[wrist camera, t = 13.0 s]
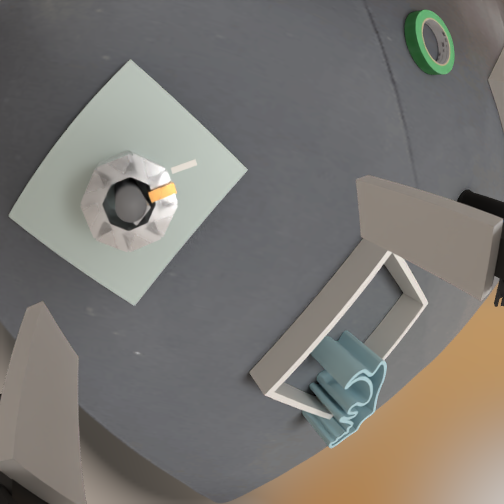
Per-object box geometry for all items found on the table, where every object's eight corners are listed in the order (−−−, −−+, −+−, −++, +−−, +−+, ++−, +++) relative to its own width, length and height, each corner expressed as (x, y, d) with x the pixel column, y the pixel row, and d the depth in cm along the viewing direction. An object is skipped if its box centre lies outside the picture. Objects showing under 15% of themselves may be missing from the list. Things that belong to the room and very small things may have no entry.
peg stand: (12, 212, 25) (-22, 243, 16) (129, 62, 25) (138, 33, 17) (133, 299, 33) (145, 352, 25) (242, 168, 33) (288, 181, 25)
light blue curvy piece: (344, 393, 57) (373, 423, 49) (300, 415, 54) (328, 450, 46) (351, 322, 50) (390, 353, 42) (299, 345, 46) (335, 384, 39)
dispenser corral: (248, 372, 44) (264, 395, 39) (368, 231, 44) (393, 242, 39) (314, 401, 53) (329, 419, 49) (408, 291, 53) (428, 303, 49)
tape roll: (402, 0, 33) (415, -2, 31) (442, 28, 38) (454, 27, 36) (402, 60, 37) (415, 59, 35) (441, 83, 42) (454, 83, 39)
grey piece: (105, 239, 28) (105, 266, 23) (78, 170, 25) (69, 180, 19) (173, 211, 30) (189, 230, 25) (150, 141, 27) (161, 142, 21)
